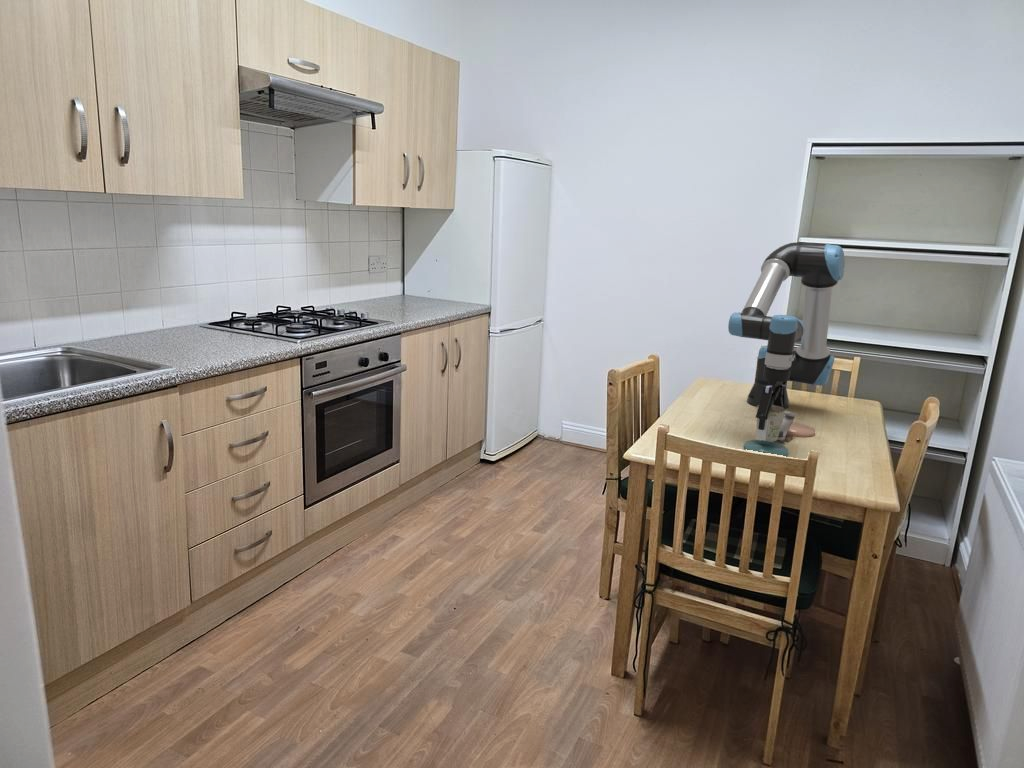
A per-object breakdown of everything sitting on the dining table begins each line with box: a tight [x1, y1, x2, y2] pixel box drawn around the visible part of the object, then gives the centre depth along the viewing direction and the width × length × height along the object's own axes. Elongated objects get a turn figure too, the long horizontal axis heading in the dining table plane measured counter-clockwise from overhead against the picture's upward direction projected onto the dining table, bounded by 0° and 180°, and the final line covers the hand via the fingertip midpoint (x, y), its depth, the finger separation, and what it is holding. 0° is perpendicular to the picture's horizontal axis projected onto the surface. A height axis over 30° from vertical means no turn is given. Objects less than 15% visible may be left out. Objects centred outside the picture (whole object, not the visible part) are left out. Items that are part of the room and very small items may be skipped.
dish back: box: [788, 421, 816, 438], centre depth 237 cm, size 13×13×1 cm
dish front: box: [743, 439, 789, 457], centre depth 215 cm, size 13×13×1 cm
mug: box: [756, 405, 786, 442], centre depth 214 cm, size 8×13×10 cm, turn 161°
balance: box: [777, 410, 798, 443], centre depth 227 cm, size 5×13×8 cm, turn 141°
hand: (767, 434), depth 214 cm, fingers closed on mug, 12 cm apart
